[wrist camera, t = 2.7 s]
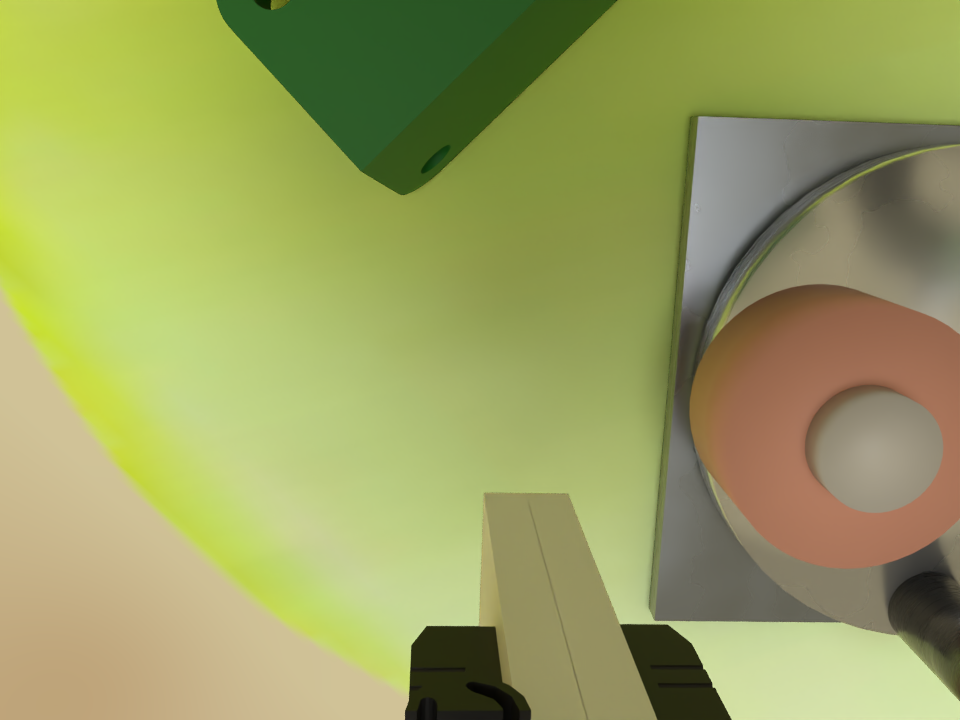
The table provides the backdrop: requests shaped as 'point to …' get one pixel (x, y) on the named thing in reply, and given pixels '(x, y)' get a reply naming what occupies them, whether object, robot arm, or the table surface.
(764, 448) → the cover
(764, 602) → the turntable base
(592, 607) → the robot arm
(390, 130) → the clamp
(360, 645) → the table surface
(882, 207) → the turntable
